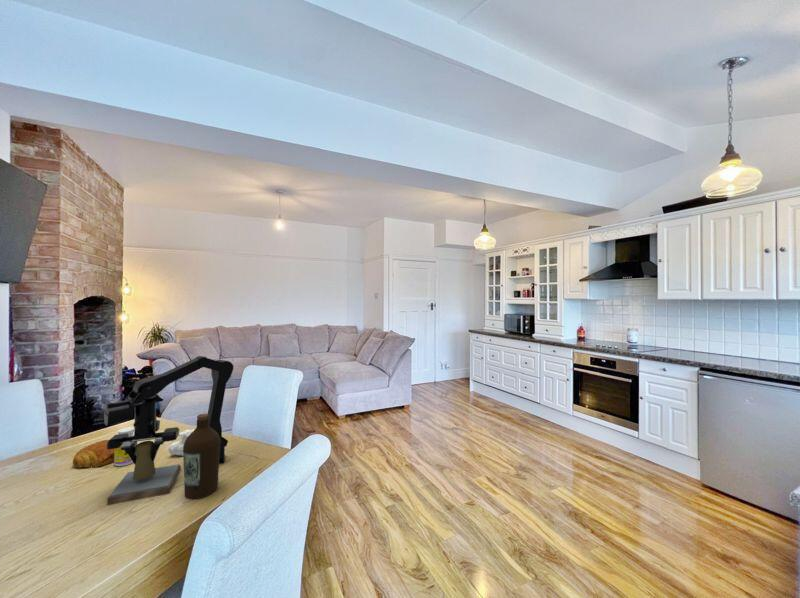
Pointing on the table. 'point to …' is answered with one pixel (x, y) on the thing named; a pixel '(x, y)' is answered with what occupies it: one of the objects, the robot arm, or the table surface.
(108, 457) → the croissant
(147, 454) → the brown rounded upright piece
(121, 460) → the supplement bottle
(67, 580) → the table surface
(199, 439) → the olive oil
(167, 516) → the table surface
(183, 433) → the bust
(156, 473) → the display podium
